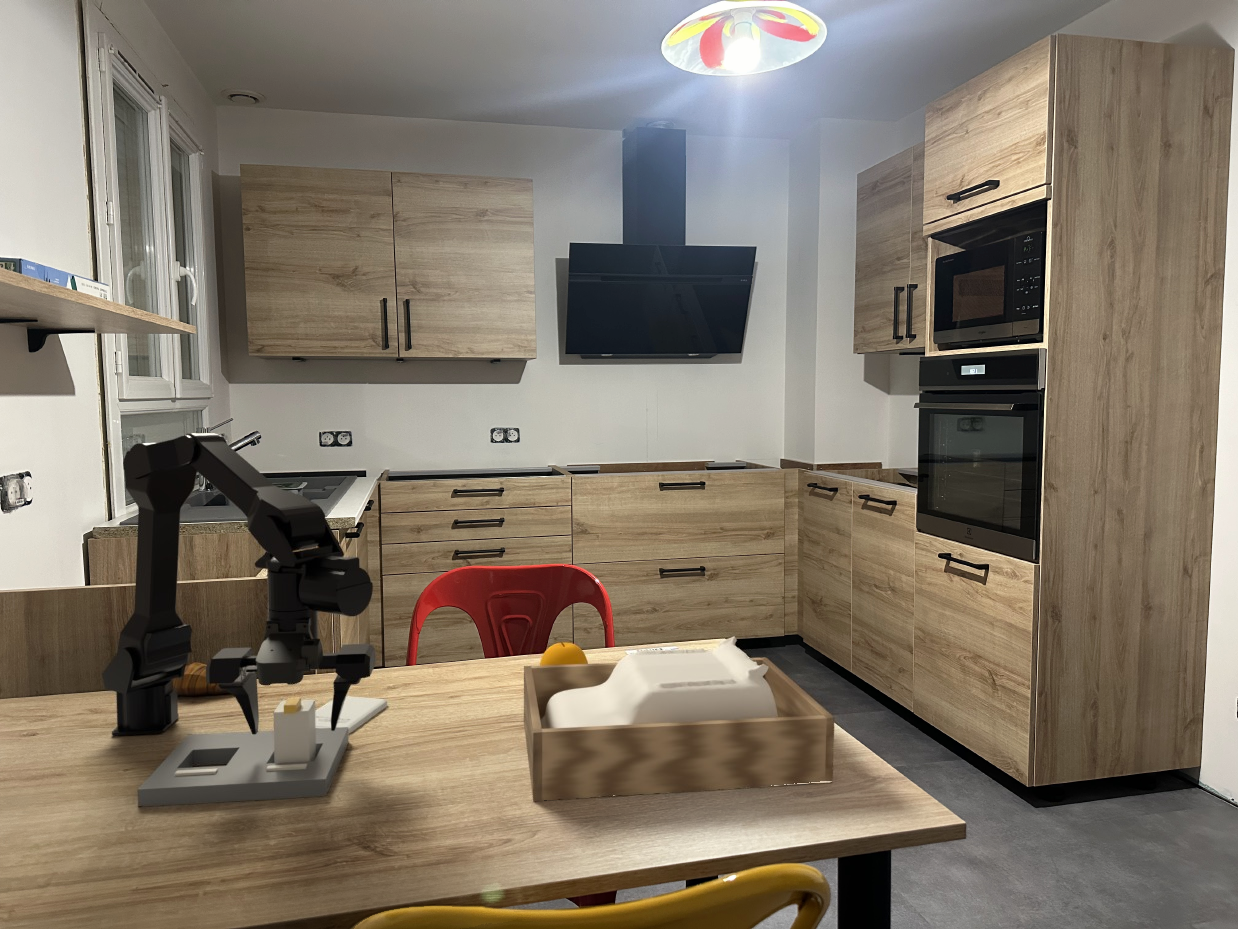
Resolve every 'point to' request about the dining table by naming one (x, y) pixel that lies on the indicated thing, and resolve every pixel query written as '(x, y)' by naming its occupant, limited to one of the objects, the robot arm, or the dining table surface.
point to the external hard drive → (350, 712)
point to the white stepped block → (669, 690)
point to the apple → (563, 655)
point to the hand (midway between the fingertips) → (294, 731)
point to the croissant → (195, 682)
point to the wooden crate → (672, 744)
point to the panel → (241, 769)
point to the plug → (295, 731)
